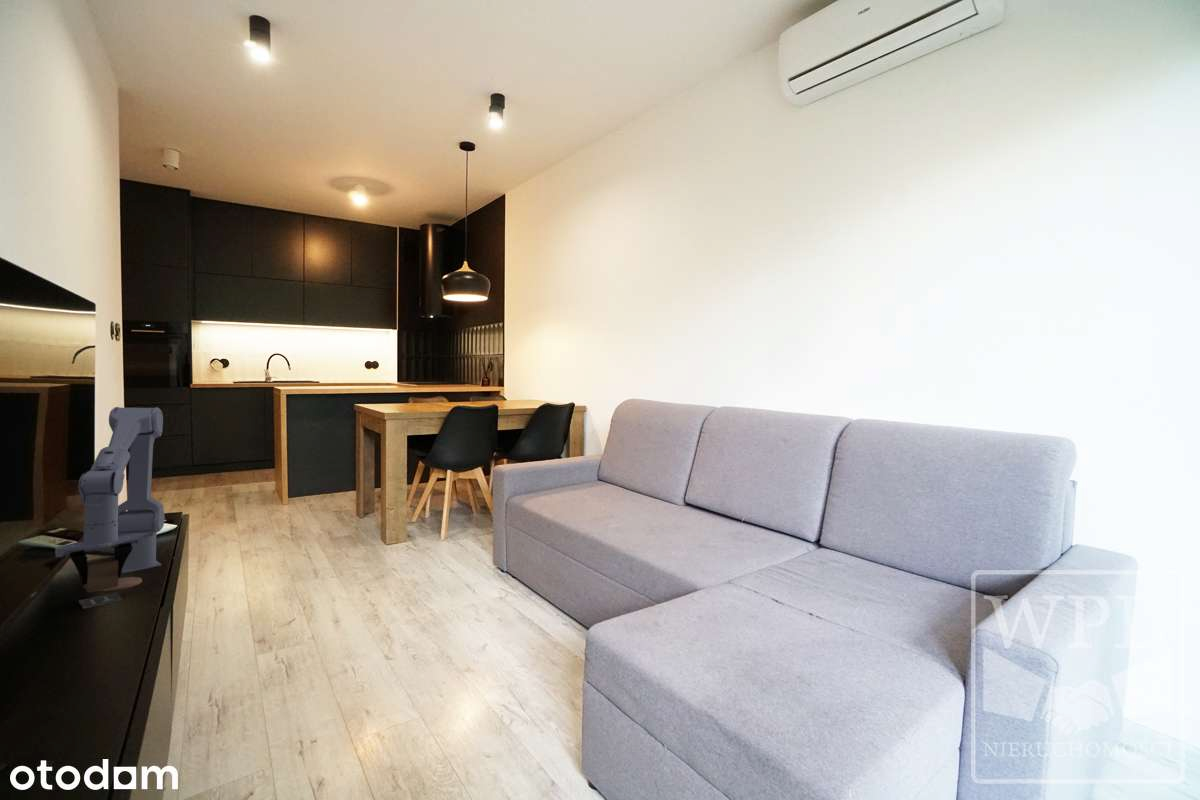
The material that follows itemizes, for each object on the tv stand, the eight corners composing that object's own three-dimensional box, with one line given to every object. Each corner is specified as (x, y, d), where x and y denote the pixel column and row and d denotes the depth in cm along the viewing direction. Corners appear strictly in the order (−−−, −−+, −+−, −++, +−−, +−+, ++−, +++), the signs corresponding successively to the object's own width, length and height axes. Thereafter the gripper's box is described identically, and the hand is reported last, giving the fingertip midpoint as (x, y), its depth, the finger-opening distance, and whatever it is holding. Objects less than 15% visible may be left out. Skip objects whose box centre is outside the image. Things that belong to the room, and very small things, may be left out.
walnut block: (83, 586, 120) (83, 561, 119) (112, 580, 124) (113, 556, 123) (88, 592, 117) (88, 566, 116) (117, 586, 121) (118, 561, 120)
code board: (72, 601, 120) (72, 600, 120) (119, 591, 126) (119, 590, 126) (79, 612, 114) (79, 611, 114) (127, 601, 121) (127, 599, 121)
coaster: (95, 585, 128) (95, 583, 128) (137, 576, 135) (137, 574, 135) (102, 594, 124) (102, 592, 124) (145, 585, 130) (145, 582, 130)
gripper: (59, 532, 111) (58, 594, 112) (146, 519, 123) (146, 575, 123) (53, 525, 116) (53, 585, 116) (139, 513, 127) (138, 568, 128)
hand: (100, 579), depth 120 cm, fingers closed on walnut block, 5 cm apart
